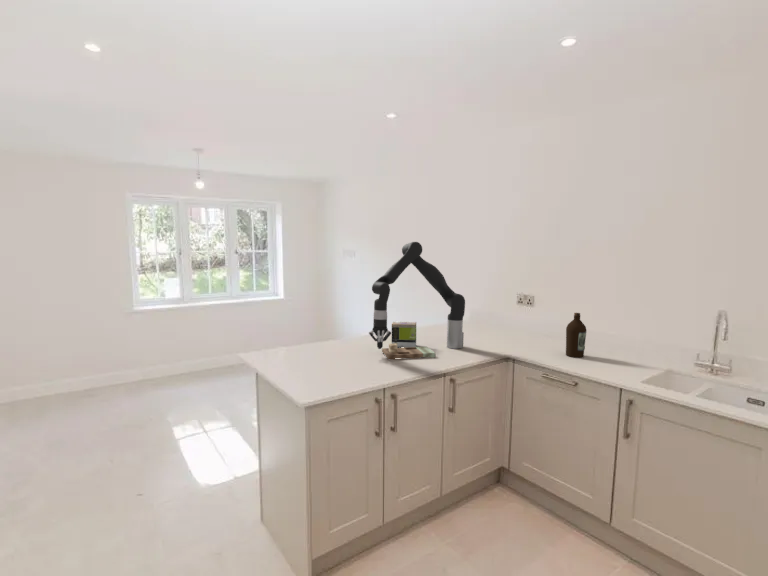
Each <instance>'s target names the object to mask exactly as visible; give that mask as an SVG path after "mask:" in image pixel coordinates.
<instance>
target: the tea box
mask: <svg viewBox="0 0 768 576" xmlns="http://www.w3.org/2000/svg"><path fill="white" fill-rule="evenodd" d="M395 343H396V344H397V347H417V321H392V323H391V344H395Z"/></svg>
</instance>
